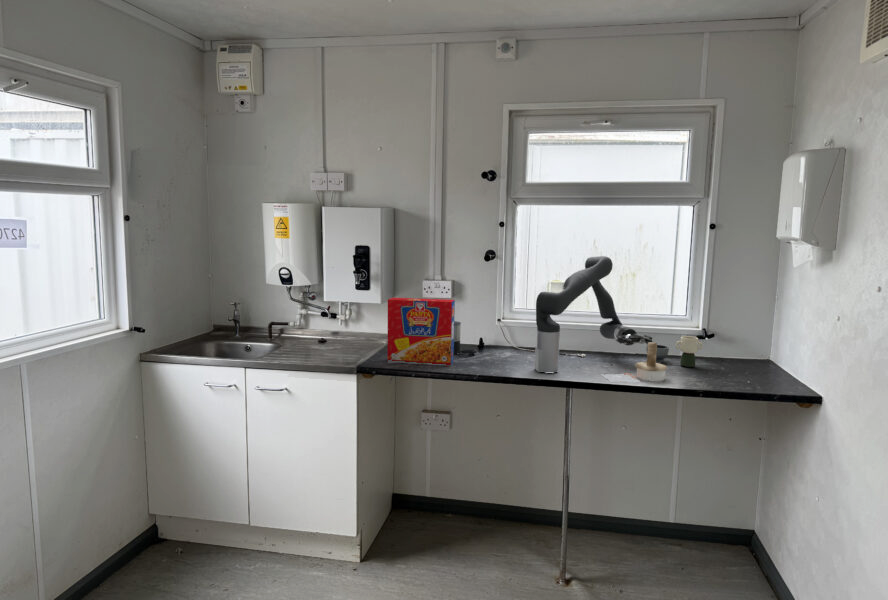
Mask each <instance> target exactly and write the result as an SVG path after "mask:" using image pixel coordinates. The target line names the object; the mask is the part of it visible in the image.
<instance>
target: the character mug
mask: <svg viewBox="0 0 888 600" xmlns="http://www.w3.org/2000/svg"><path fill="white" fill-rule="evenodd" d="M679 344H680V346H679ZM675 349H680V352H682V353H681V357H680V362H679V364H680V366H683V367H687V368H694V367H696V355H695V354H696V353H697V352H698V350H702V349H703V342H702V341H699V338H698V337H697V336H692V335H691V336H690V335H683V336H681V337H680V340H677V341H676V342H675Z"/></svg>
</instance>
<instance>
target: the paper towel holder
mask: <svg viewBox="0 0 888 600" xmlns="http://www.w3.org/2000/svg"><path fill="white" fill-rule="evenodd" d="M657 345H658V343H657V342H654V341H652V342H648V352H647V351H646V355H647V356H646V361H641V362H635V365H634V367H635V368H636V369H637V368H639V369H642V370H647V371H665V372H666V371H667V370H668V366H667V365H665V364H663V363H656V353H657Z"/></svg>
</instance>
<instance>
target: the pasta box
mask: <svg viewBox="0 0 888 600" xmlns="http://www.w3.org/2000/svg"><path fill="white" fill-rule="evenodd" d="M455 301H456V300H455V299H441V298H440V299H439V298H416V297H415V298H413V297H390V298H388V299H387V361H388V360H392V361H405V362H417V363H432V364H446V365H451V364H452V363H453V364H454V362H455V359H454V358H455V357H454V321H455V312H456V311H455V309H456V308H455V305H456V304H455ZM453 361H454V362H453ZM453 364H452V365H453ZM452 365H451V366H452Z"/></svg>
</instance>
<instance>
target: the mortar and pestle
mask: <svg viewBox="0 0 888 600" xmlns="http://www.w3.org/2000/svg"><path fill="white" fill-rule="evenodd" d="M647 336H650V335H649V334H647ZM650 337H651V336H650ZM669 351H670V347H669V346H667V345H662V344H657V353H656V363H659V364H662V363H661V362H665V360H664V359H666V358H667V356H668V355H669ZM647 352H648V344H646V353H647Z"/></svg>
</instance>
